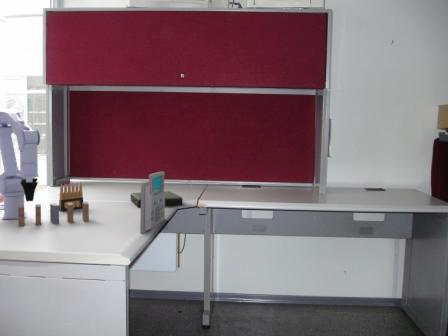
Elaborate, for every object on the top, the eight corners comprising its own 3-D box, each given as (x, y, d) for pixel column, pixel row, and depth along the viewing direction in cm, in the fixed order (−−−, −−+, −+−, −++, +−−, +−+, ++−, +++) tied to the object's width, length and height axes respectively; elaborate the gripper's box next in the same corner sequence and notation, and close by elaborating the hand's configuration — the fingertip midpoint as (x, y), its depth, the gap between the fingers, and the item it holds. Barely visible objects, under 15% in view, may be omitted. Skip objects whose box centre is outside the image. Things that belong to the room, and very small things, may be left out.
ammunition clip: (60, 211, 171) (60, 184, 170) (58, 211, 172) (58, 183, 171) (83, 208, 179) (83, 182, 178) (81, 208, 180) (81, 181, 179)
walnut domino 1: (19, 223, 148) (18, 205, 147) (24, 223, 149) (24, 204, 148) (18, 226, 143) (18, 207, 143) (24, 226, 144) (23, 207, 143)
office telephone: (146, 234, 136) (147, 177, 135) (139, 234, 137) (140, 176, 135) (168, 220, 159) (168, 171, 157) (161, 220, 160) (162, 170, 158)
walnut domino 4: (82, 219, 157) (82, 202, 157) (87, 219, 158) (87, 201, 157) (83, 222, 153) (83, 204, 152) (88, 221, 154) (88, 203, 153)
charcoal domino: (50, 221, 152) (50, 203, 151) (55, 221, 153) (55, 203, 153) (54, 224, 148) (53, 205, 148) (59, 223, 149) (58, 205, 149)
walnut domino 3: (67, 220, 155) (67, 202, 154) (72, 220, 156) (72, 202, 155) (68, 223, 150) (68, 204, 150) (73, 222, 151) (73, 204, 151)
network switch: (187, 206, 191) (187, 196, 191) (140, 210, 179) (140, 199, 178) (168, 199, 211) (168, 190, 211) (124, 202, 199) (124, 192, 198)
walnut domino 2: (35, 222, 150) (35, 204, 150) (40, 222, 151) (40, 204, 150) (35, 225, 146) (35, 206, 145) (41, 225, 146) (40, 206, 146)
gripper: (17, 161, 150) (17, 196, 151) (16, 164, 137) (17, 203, 138) (37, 161, 153) (38, 195, 154) (38, 164, 140) (39, 202, 141)
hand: (29, 199), depth 146 cm, fingers open, 7 cm apart
